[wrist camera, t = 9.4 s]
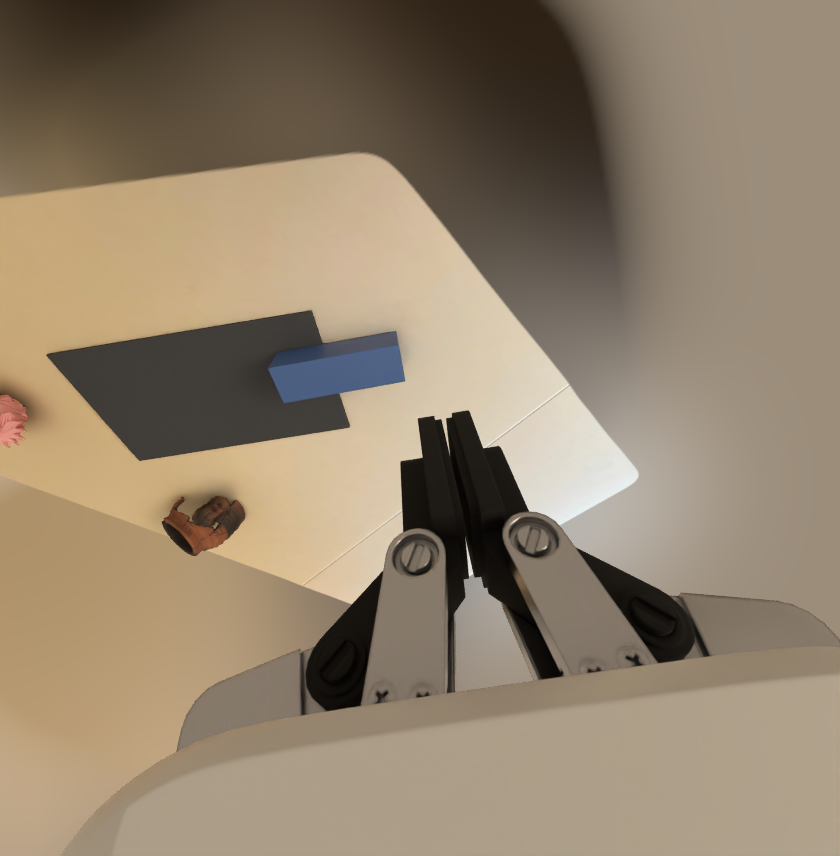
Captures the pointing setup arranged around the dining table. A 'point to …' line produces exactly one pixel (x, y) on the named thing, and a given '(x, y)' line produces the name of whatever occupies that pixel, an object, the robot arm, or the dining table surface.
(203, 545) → the brown broken pot
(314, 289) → the dining table surface
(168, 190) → the dining table surface
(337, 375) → the blue post
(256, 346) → the rubber mat
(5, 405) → the pink coral piece
